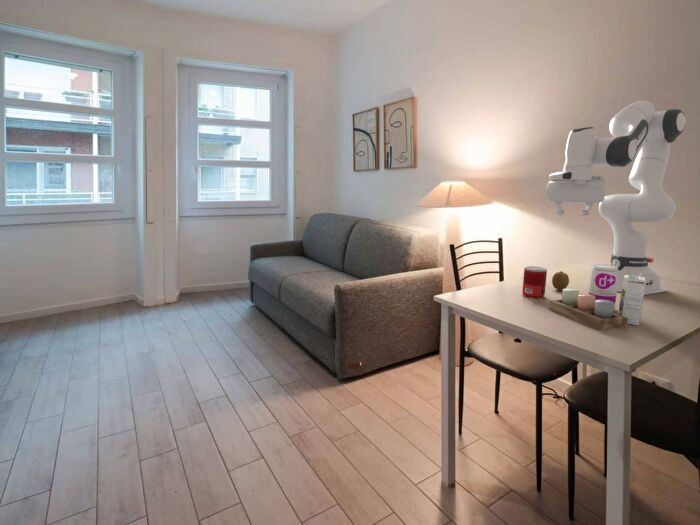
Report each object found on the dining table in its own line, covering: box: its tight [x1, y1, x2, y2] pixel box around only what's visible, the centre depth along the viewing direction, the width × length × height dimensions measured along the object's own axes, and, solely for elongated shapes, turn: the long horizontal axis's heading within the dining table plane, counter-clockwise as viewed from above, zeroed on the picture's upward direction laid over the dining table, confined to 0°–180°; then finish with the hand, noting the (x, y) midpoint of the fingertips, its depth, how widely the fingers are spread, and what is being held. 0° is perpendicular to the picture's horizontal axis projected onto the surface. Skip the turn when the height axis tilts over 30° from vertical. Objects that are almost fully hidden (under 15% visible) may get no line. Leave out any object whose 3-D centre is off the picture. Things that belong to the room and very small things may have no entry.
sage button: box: [561, 288, 580, 306], centre depth 138 cm, size 5×5×5 cm
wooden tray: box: [547, 298, 628, 331], centre depth 132 cm, size 10×22×3 cm, turn 12°
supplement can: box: [587, 264, 619, 310], centre depth 140 cm, size 8×8×15 cm
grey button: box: [594, 299, 614, 319], centre depth 125 cm, size 5×5×5 cm
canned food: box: [522, 265, 548, 299], centre depth 157 cm, size 8×8×11 cm
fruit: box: [551, 270, 570, 291], centre depth 166 cm, size 6×6×8 cm
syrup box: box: [617, 275, 646, 326], centre depth 126 cm, size 6×6×14 cm
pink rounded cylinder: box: [577, 293, 595, 312], centre depth 131 cm, size 5×5×5 cm
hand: (572, 215), depth 144 cm, fingers open, 8 cm apart
